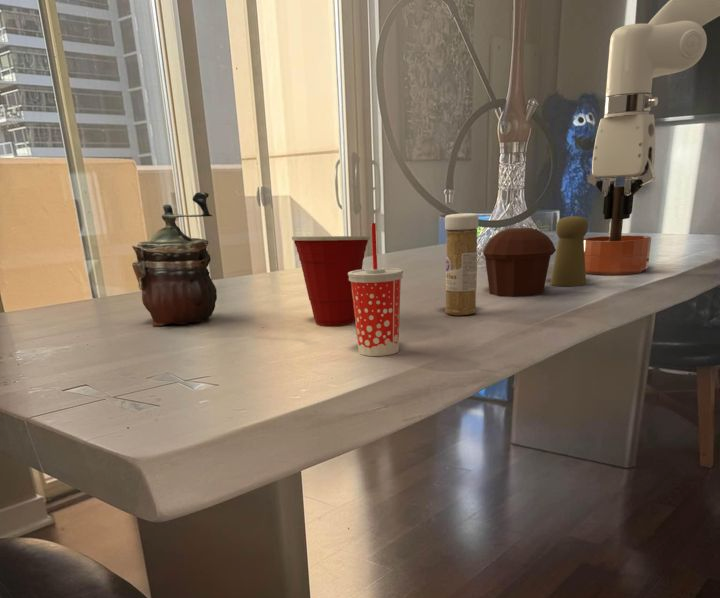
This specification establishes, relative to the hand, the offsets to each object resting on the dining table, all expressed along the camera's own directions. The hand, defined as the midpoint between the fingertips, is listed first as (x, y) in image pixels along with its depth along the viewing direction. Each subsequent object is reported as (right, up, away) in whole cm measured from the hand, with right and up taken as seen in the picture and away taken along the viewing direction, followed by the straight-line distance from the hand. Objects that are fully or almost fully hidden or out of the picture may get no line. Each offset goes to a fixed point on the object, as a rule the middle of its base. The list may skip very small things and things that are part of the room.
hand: (616, 217), depth 129 cm
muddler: (0, -8, +3) cm, 9 cm away
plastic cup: (-52, -27, -31) cm, 66 cm away
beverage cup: (-46, -34, -49) cm, 76 cm away
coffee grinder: (-74, -25, -24) cm, 82 cm away
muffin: (-22, -18, -14) cm, 32 cm away
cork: (-12, -15, -9) cm, 21 cm away
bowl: (+1, -9, +3) cm, 10 cm away
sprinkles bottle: (-34, -25, -30) cm, 51 cm away
